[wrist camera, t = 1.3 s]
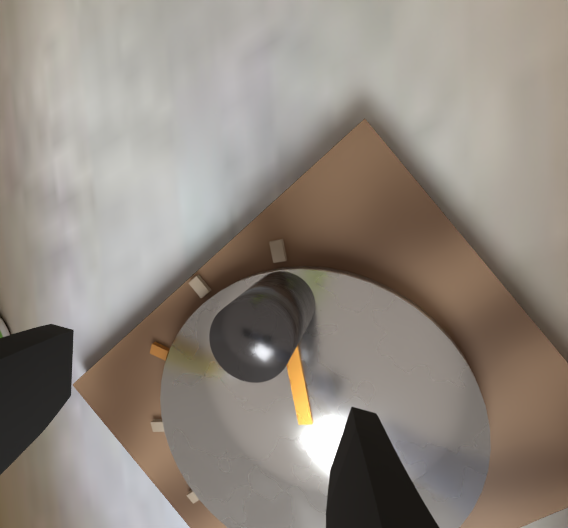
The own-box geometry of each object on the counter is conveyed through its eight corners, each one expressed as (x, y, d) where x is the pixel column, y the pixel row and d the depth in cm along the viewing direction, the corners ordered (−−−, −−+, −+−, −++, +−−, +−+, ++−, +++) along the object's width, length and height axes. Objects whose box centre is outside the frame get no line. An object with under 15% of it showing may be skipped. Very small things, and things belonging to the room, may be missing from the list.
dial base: (639, 451, 18) (661, 475, 16) (280, 609, 25) (273, 636, 23) (366, 122, 18) (364, 117, 16) (86, 375, 25) (68, 387, 23)
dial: (503, 569, 19) (545, 714, 14) (204, 547, 23) (152, 651, 18) (464, 241, 16) (499, 270, 11) (137, 288, 21) (55, 324, 16)
